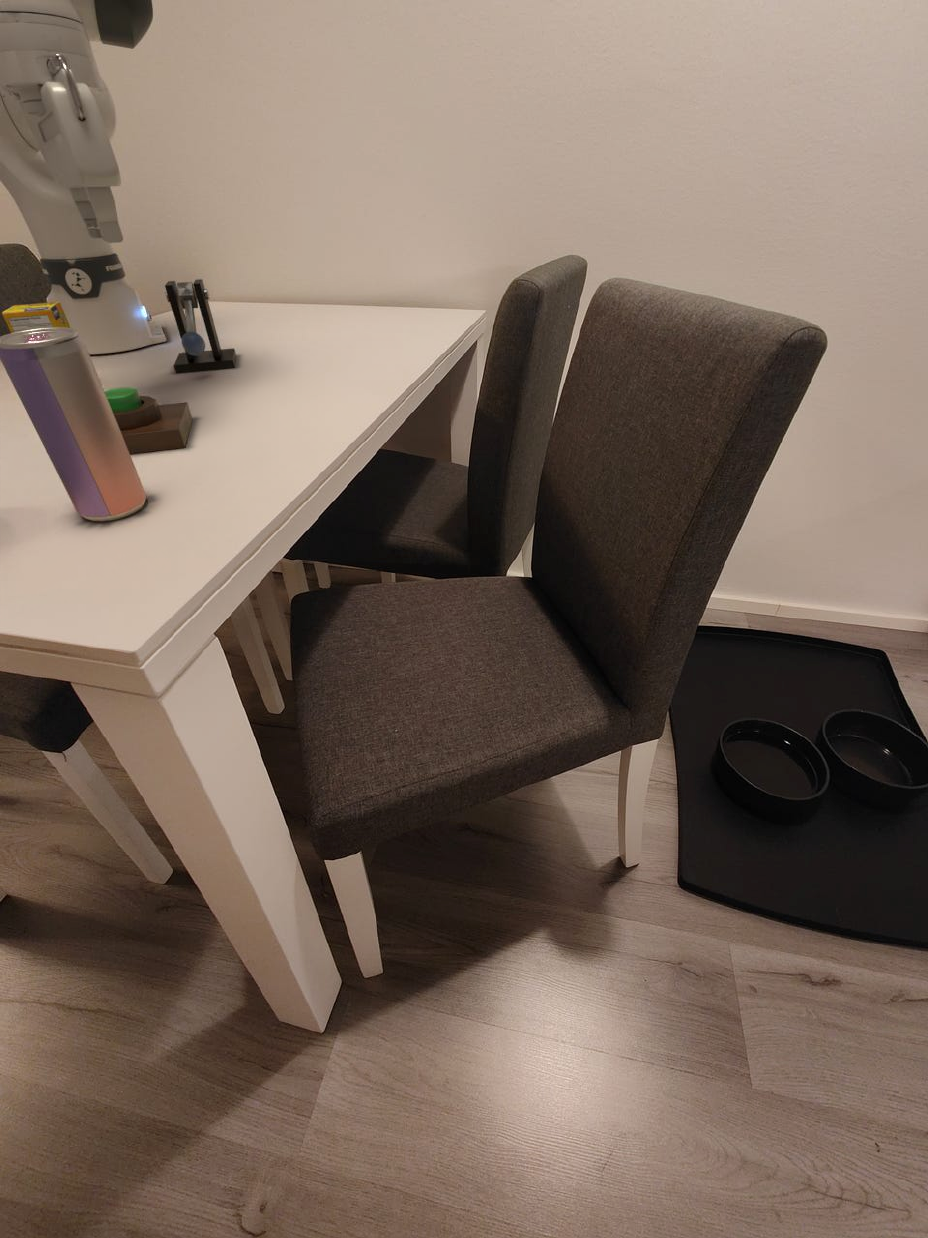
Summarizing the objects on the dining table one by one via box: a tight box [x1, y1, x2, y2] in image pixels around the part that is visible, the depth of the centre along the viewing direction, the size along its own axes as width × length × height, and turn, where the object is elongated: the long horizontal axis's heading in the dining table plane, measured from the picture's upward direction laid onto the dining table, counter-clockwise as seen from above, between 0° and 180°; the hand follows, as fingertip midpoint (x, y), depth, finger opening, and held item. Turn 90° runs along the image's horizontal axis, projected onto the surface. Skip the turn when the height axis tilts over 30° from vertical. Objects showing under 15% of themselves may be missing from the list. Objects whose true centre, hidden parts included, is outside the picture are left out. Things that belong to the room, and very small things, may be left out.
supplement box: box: [2, 302, 71, 333], centre depth 81 cm, size 6×6×11 cm
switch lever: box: [176, 281, 206, 356], centre depth 86 cm, size 13×3×3 cm, turn 16°
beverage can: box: [0, 327, 147, 522], centre depth 49 cm, size 6×6×15 cm
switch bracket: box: [164, 278, 237, 374], centre depth 90 cm, size 8×9×12 cm
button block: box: [113, 395, 193, 455], centre depth 66 cm, size 10×12×4 cm
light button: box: [104, 387, 143, 412], centre depth 65 cm, size 4×4×2 cm
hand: (106, 240), depth 63 cm, fingers open, 8 cm apart
